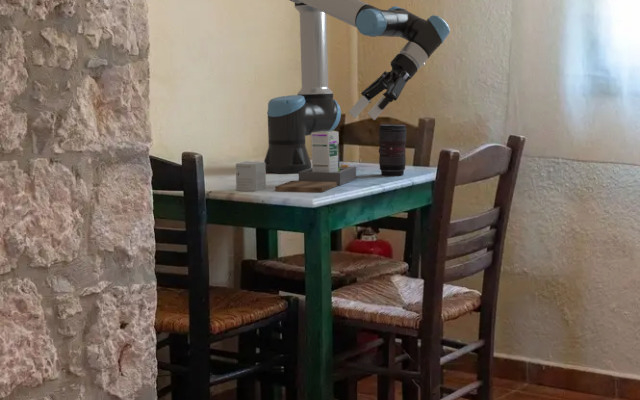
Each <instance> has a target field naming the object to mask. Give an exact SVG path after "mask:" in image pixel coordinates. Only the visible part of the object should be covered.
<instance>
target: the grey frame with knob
mask: <svg viewBox="0 0 640 400" xmlns="http://www.w3.org/2000/svg"><path fill="white" fill-rule="evenodd" d="M339 169H340V171H338V172H312V167H311V168H309V169H306V170H303V171H300V172H298V181H324V182H337V187H338V186H343V185H345V184H347V183H349V182H352V181H354V180H356V179H357V167H356V166H350V165H349V164H340V165H339Z"/></svg>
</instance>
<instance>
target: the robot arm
mask: <svg viewBox="0 0 640 400" xmlns="http://www.w3.org/2000/svg"><path fill="white" fill-rule="evenodd" d="M289 1H290V2H292V3H294V8H295V10H296V11H298V12H299V32H300V33H299V34H300V36H299V38H300V40H299V41H300V71H301V72H300V73H301V88H300V90H299V91H298V92H297V93H296V94H294V95H293V94H292V95H283V96H277V97H274V98H272V99H270V100H268V103H267V130H268V131H267V135H268V136H267V139H268V145H267V146H268V148H267V150H266V155H265V158H264V161H263V162H265V163H266V173H273V174H296V173H298V174H299V172H300V171H303V170H306V169H309V168H312V160H311V158H310V155H309V153H308V149H307V147H306V136H311V133H312V132H320V131H335V129H336V128H337V127H338V125H339V123H340V122H341V117H342V109H341V107H340V104H338V101H337V100H335V98H334V92H333V91H332V90H331V89H330V88H329V63H328V60H329V59H328V57H329V56H328V28H327V27H328V26H327V25H328V24H327V23H328V22H327V18H328V17H327V15H328V16H331V17H333V18H334V19H337V20H340V21H342V22H344V23H346V24H347V25H350V26H352V27H353V28H356V29H357V30H358V32H359V33H360V34H361V35H363V36H365V37H366V36H367V37H370V38H374V37H389V38H390V37H392V38H393V37H395V38H402V39H404V40H406V41H407V43H406V44H405V45H403V47H402V48H401V50H399V53H397V55H395V56H394V58H393V59H392V60H391V61H390V66H391V70H390V71H388V72H387V70H385V71H383V73H382V74H381V75H380V76H379V77H378V78H376V79H375V80H374V81H373V82H372V83H371V84H370V85H369V86H367V87H366V88H365V89H364V90H363V91H362V92H361V93H360V95H362V96H361V97H360V98H359V99H358V100H357V101H356V103H354V105H353V106H352V107H351V108H350V110H348V113H349V115H351V116H352V117H353V118H354V119H357V118H358V116H359V115H360V114H361V113H362V112H363V111H364V109H365V108H366V107H367V106H368V105H369V104H370V103H371V101H372V99H374V98H375V97H376V96H378V95H379V94H381V92H383V91H384V90H386V91H385V92H383V93H382V96H381V97H379V99H378V101H377V102H375V104H374V105H373V106H372V107H371V109H369V111H368V112H367V115H368V116H369V117H370V118H371V119H372V120H373V121H376V119H377V118H378V117H379V116H380V115H381V113H383V111H384V110H385V109H386V108H387V107H388V106H389V104H390V103H392V102H394V101H398V98H399V97H400V96H401V93H402V91H403V90H404V88H405V86H406V84H407V83H408V81H409V80H411V79H412V78H413V77H414V76H415V75H416V73H418V70H420V69H421V68H422V67H423V66H425V65H426V63H425V62H426V61H428V59H429V58H430V57H431V56H432V55H433V54H434V52H435V51H437V49H438V48H439V47H440V46H441V45H442V44H443V43H444V41H445V40H446V38H447V37H448V36H449V34H450V31H451V29H450V26H449V24H448V22H446V21H445V19H443V18H442V17H440V16H438V15H433V14H432V15H431V16H429V17H428V18H427V20H426V19H425V18H421V17H419V16H417V15H416V14H414V13H412V12H410V11H409V10H407V9H405V8H402V7H399V6H397V5H395V6H391V7H390V8H388V9H381V8H379V7H375V6H373V5H371V4H369V3H367V2H365V1H362V0H289Z"/></svg>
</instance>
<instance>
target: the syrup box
mask: <svg viewBox="0 0 640 400" xmlns="http://www.w3.org/2000/svg"><path fill="white" fill-rule="evenodd" d="M310 136H311V137H310V138H311V141H310V142H311V168H312V172H338V171H340V169H339V166H340V145H339V143H340V141H339V139H340V138H339V131H338V130H333V131H320V132H312V133H311V135H310Z"/></svg>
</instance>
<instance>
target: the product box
mask: <svg viewBox="0 0 640 400" xmlns="http://www.w3.org/2000/svg"><path fill="white" fill-rule="evenodd" d="M266 179H267V172H266V163H265V162H264V161H242V162H238V163H235V187H236V188H235V190H236V191H240V192H243V191H244V192H259V191H263V190H266V188H267V185H266V184H267V183H266V182H267V181H266Z"/></svg>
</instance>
